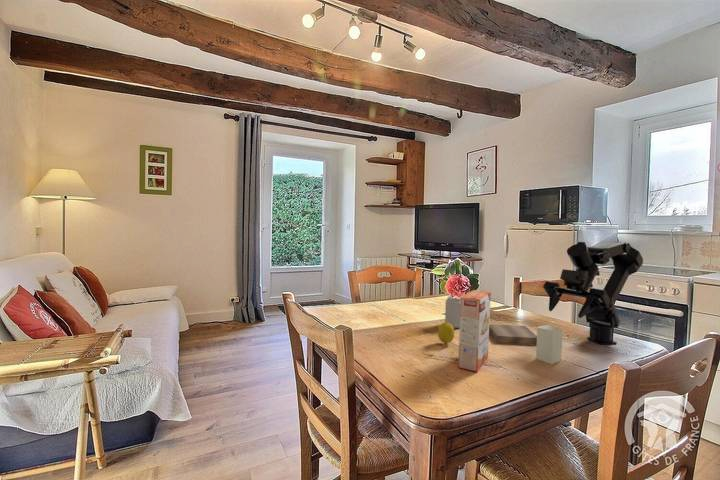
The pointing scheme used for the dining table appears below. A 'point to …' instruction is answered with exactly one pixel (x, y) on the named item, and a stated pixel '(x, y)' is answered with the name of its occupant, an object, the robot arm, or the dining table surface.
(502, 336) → the brown flat square slab
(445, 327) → the lemon
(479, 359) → the cracker box
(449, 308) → the can
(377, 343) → the dining table surface
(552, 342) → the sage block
